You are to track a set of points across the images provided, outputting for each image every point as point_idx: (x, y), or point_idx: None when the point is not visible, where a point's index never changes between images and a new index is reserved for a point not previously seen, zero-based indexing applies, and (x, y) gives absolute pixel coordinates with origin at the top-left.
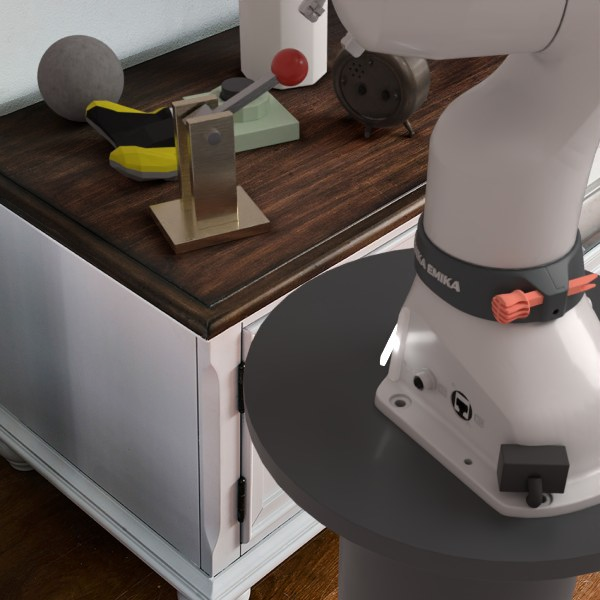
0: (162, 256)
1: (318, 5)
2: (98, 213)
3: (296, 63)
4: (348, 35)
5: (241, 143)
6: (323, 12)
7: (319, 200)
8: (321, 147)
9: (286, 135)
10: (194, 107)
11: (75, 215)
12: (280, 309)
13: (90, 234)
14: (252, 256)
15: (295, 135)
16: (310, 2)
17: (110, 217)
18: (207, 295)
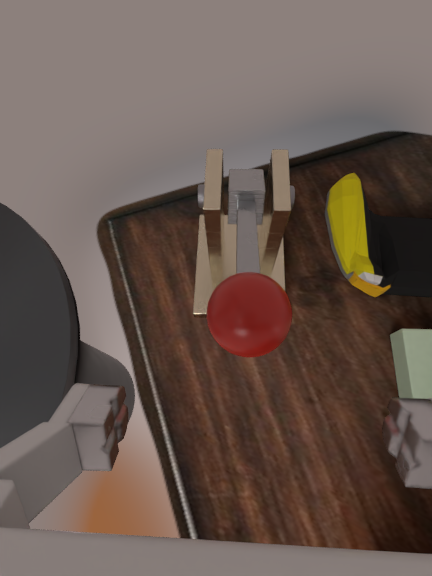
0: None
1: (418, 461)
2: (306, 184)
3: (212, 307)
4: (96, 405)
5: (400, 365)
6: (402, 478)
7: (231, 403)
8: (372, 484)
9: None
10: (271, 180)
11: (310, 166)
12: (44, 255)
13: None
14: (161, 282)
15: None
16: (423, 427)
17: None
18: (125, 224)
